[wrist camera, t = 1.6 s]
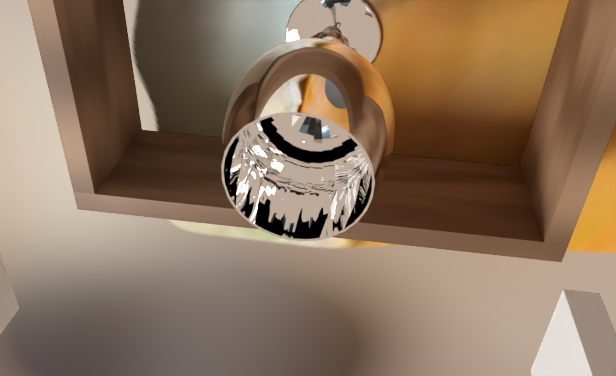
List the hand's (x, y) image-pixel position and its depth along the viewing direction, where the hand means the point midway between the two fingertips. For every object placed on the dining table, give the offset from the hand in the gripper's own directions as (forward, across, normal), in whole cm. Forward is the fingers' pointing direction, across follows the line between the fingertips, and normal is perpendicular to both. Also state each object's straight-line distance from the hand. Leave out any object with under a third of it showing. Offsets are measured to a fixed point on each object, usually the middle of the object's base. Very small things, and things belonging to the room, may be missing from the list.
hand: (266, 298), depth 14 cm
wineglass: (+17, 0, 0) cm, 17 cm away
